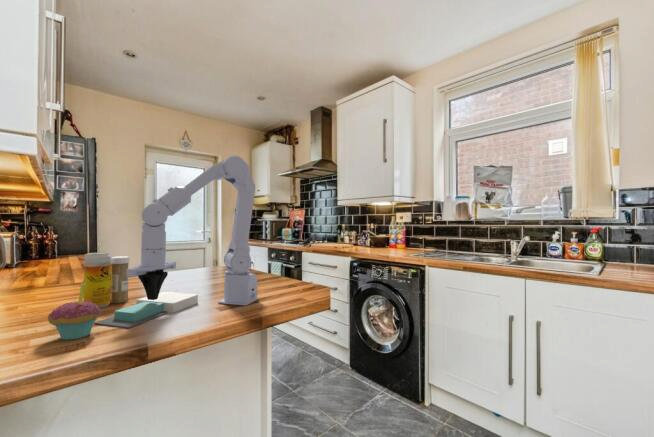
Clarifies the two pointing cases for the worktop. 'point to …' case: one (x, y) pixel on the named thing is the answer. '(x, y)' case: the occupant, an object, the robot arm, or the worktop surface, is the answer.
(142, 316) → the teal rectangular block
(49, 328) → the worktop surface
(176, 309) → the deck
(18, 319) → the worktop surface
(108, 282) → the beer can
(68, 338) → the cupcake
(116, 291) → the sprinkles bottle
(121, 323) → the mat
